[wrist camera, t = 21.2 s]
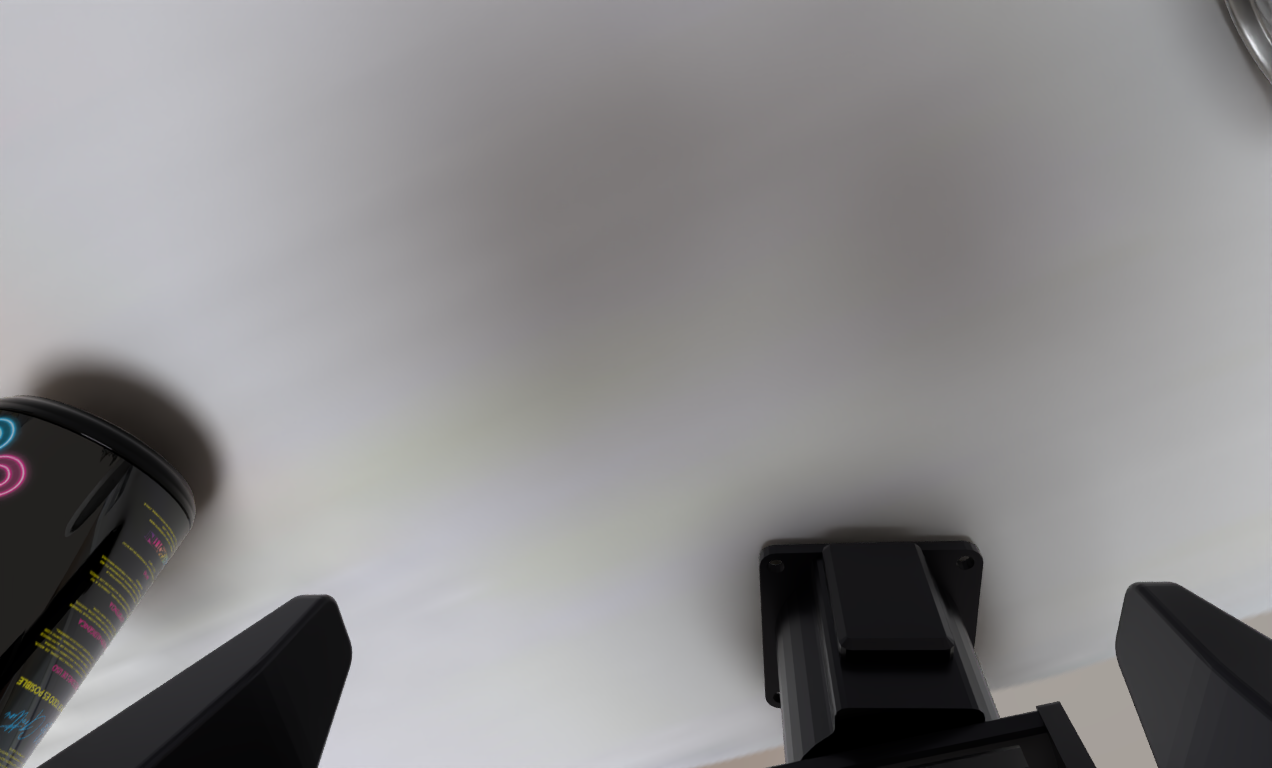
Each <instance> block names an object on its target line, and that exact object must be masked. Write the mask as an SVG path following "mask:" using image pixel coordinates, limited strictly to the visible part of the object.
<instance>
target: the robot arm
mask: <svg viewBox="0 0 1272 768" xmlns="http://www.w3.org/2000/svg"><path fill="white" fill-rule="evenodd" d="M964 556H969V558H968V559H967V560H965V561H957V560H958V559H959V558H961V557H964ZM772 560H780V561H782V562H781V563H780V564H777V565H774V564H771V563H769V562H771V561H772ZM982 569H983V558H982V556H981V553H980V551H979V549H978V548H977V546H976V545H975V544H973V543H971V542H967V541H936V542H880V543H834V544H799V545H772V546H768V547H766V548H764V549H763V550H762V551H761V553H760V556H759V571H760V592H761V614H762V635H763V656H764V677H765V697H766V700H767V702H768V703H769V704H770V705H771V706H773V707H776V708H781V712H782V725H783V737H784V750H785V762H786V764H781V765H777V766H772V767H767V768H1096V767H1095V765H1094V763H1093V761H1092V759H1091V757H1090V756H1089V754H1088V752H1087V750H1086V748H1085V747H1084V745H1083V743H1082V741H1081V739H1080V738H1079V736H1078V734H1077V732H1076V730H1075V729H1074V727H1073V725H1072V723H1071V721H1070V720H1069V718H1068V716H1067V714H1066V712H1065V711H1064V709H1063V707H1062V705H1061V703H1060V702H1053V703H1049V704H1044V705H1039V706H1036V709H1037V711H1033V712H1028V713H1023V714H1019V715H1014V716H1009V717H1004V718H1000V716H999V714H998V711H997V709H996V706H995V704H994V701H993V698H992V696H991V693H990V690H989V688H988V685H987V683H986V680H985V677H984V675H983V672H982V670H981V667H980V664H979V662H978V659H977V657H976V654H975V651H974V644H975V635H976V625H977V616H978V607H979V597H980V588H981V579H982ZM1115 649H1116V656H1117V660H1118V663H1119V666H1120V669H1121V671H1122V674H1123V677H1124V679H1125V682H1126V685H1127V687H1128V690H1129V693H1130V695H1131V698H1132V700H1133V703H1134V706H1135V708H1136V711H1137V713H1138V716H1139V718H1140V721H1141V724H1142V727H1143V729H1144V731H1145V734H1146V737H1147V740H1148V742H1149V745H1150V747H1151V750H1152V753H1153V755H1154V758H1155V761H1156V763H1157V766H1158V768H1272V639H1270V638H1268V637H1267V636H1265V635H1263V634H1262V633H1260V632H1258V631H1257V630H1255V629H1253V628H1252V627H1250V626H1248V625H1246V624H1245V623H1243V622H1241V621H1240V620H1238V619H1236V618H1235V617H1233V616H1231V615H1230V614H1228V613H1226V612H1225V611H1223V610H1221V609H1219V608H1218V607H1216V606H1214V605H1213V604H1211V603H1209V602H1208V601H1206V600H1204V599H1203V598H1201V597H1199V596H1197V595H1196V594H1194V593H1192V592H1191V591H1189V590H1187V589H1186V588H1184V587H1182V586H1180V585H1178V584H1176V583H1173V582H1136V583H1133V584H1131V585H1130V586H1129V587H1128V589H1127V591H1126V594H1125V597H1124V602H1123V607H1122V612H1121V616H1120V621H1119V626H1118V631H1117V635H1116V642H1115ZM351 660H352V646H351V642H350V639H349V636H348V633H347V631H346V628H345V625H344V622H343V619H342V616H341V613H340V610H339V608H338V605H337V603H336V601H335V600H334V598H333V597H331V596H329V595H300V596H297V597H294V598H293V599H291V600H290V601H288V602H287V603H285V604H284V605H282V606H281V607H279V608H278V609H276V610H275V611H273V612H272V613H270V614H268V615H267V616H265V617H264V618H262V619H261V620H259V621H258V622H256V623H255V624H253V625H252V626H250V627H249V628H247V629H246V630H244V631H243V632H241V633H240V634H238V635H237V636H235V637H234V638H232V639H231V640H229V641H228V642H226V643H225V644H223V645H222V646H220V647H219V648H217V649H216V650H214V651H213V652H211V653H209V654H208V655H206V656H205V657H203V658H202V659H200V660H199V661H197V662H196V663H194V664H193V665H191V666H190V667H188V668H187V669H185V670H184V671H182V672H181V673H179V674H178V675H176V676H175V677H173V678H172V679H170V680H169V681H167V682H166V683H164V684H163V685H161V686H160V687H158V688H157V689H155V690H154V691H152V692H150V693H149V694H147V695H146V696H144V697H143V698H141V699H140V700H138V701H137V702H135V703H134V704H132V705H131V706H129V707H128V708H126V709H125V710H123V711H122V712H120V713H119V714H117V715H116V716H114V717H113V718H111V719H110V720H108V721H107V722H105V723H104V724H102V725H101V726H99V727H98V728H96V729H95V730H93V731H91V732H90V733H88V734H87V735H85V736H84V737H82V738H81V739H79V740H78V741H76V742H75V743H73V744H72V745H70V746H69V747H67V748H66V749H64V750H63V751H61V752H60V753H58V754H57V755H55V756H54V757H52V758H51V759H49V760H48V761H46V762H45V763H43V764H42V765H40V766H39V767H37V768H318V765H319V762H320V759H321V756H322V753H323V750H324V747H325V744H326V740H327V737H328V734H329V731H330V728H331V725H332V722H333V719H334V716H335V712H336V709H337V706H338V703H339V700H340V697H341V694H342V691H343V688H344V685H345V681H346V678H347V675H348V672H349V669H350V665H351ZM777 692H780V694H779V693H777Z"/></svg>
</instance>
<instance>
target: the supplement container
mask: <svg viewBox="0 0 1272 768" xmlns="http://www.w3.org/2000/svg"><path fill="white" fill-rule="evenodd" d="M195 513H196V506H195V501H194V495H193V492H192V490H191V488H190V486H189V485H188V483H187V482H186V480H185V479H184V478H183V477H182V475H181V474H180V473H179V472H178V471H177V470H176V469H175V468H174V467H173V466H172V465H171V464H170V463H169V462H168V461H167V460H166V459H165V458H164V457H162V456H161V455H160V454H159V453H158V452H156V451H155V450H154V449H152V448H151V447H150V446H148V445H147V444H145V443H144V442H143V441H141V440H140V439H138V438H137V437H135V436H133V435H132V434H130V433H128V432H127V431H125V430H123V429H122V428H120V427H118V426H116V425H114V424H113V423H111V422H109V421H107V420H105V419H103V418H100V417H98V416H96V415H94V414H92V413H89V412H87V411H85V410H82V409H79V408H77V407H74V406H71V405H68V404H65V403H62V402H58V401H54V400H51V399H47V398H42V397H36V396H25V395H20V396H12V397H3V398H0V768H22V767H23V766H24V765H25V763H26V762H27V760H28V759H29V758H30V756H31V755H32V753H33V752H34V750H35V749H36V748H37V746H38V745H39V743H40V742H41V741H42V739H43V738H44V736H45V735H46V733H47V732H48V731H49V729H50V728H51V726H52V725H53V724H54V722H55V721H56V719H57V718H58V716H59V715H60V714H61V712H62V711H63V709H64V708H65V707H66V705H67V704H68V702H69V701H70V700H71V698H72V697H73V695H74V694H75V692H76V691H77V690H78V688H79V687H80V685H81V684H82V683H83V681H84V680H85V678H86V677H87V675H88V674H89V673H90V671H91V670H92V668H93V667H94V666H95V664H96V663H97V661H98V660H99V659H100V657H101V656H102V654H103V653H104V651H105V650H106V649H107V647H108V646H109V644H110V643H111V642H112V640H113V639H114V637H115V636H116V634H117V633H118V632H119V630H120V629H121V627H122V626H123V625H124V623H125V622H126V620H127V619H128V618H129V616H130V615H131V613H132V612H133V610H134V609H135V608H136V606H137V605H138V603H139V602H140V601H141V599H142V598H143V596H144V595H145V593H146V592H147V591H148V589H149V588H150V586H151V585H152V584H153V582H154V581H155V579H156V578H157V577H158V575H159V574H160V572H161V571H162V569H163V568H164V567H165V565H166V564H167V562H168V561H169V560H170V558H171V557H172V555H173V554H174V552H175V551H176V550H177V548H178V547H179V545H180V544H181V543H182V541H183V540H184V538H185V537H186V536H187V534H188V532H189V531H190V530H191V528H192V526H193V521H194V518H195Z"/></svg>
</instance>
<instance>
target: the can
mask: <svg viewBox="0 0 1272 768" xmlns="http://www.w3.org/2000/svg"><path fill="white" fill-rule="evenodd" d="M1224 1H1225V3H1226V6H1227V9H1228V11H1229V14H1230V16H1231V18H1232V21H1233V23H1234V25H1235V27H1236V29H1237V31H1238V33H1239V35H1240V37H1241V39H1242V41H1243V43H1244V44H1245V46H1246V48H1247V49H1248V51H1249V53H1250V54H1251V56H1252V58H1253V59H1254V61H1255V62H1256V64H1257V65H1258V67H1259V68H1260V70H1261V71H1262V72H1263V74H1264V75H1265V76H1266V78H1267V79H1268V80H1269V82H1270V83H1271V84H1272V0H1224Z"/></svg>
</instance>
